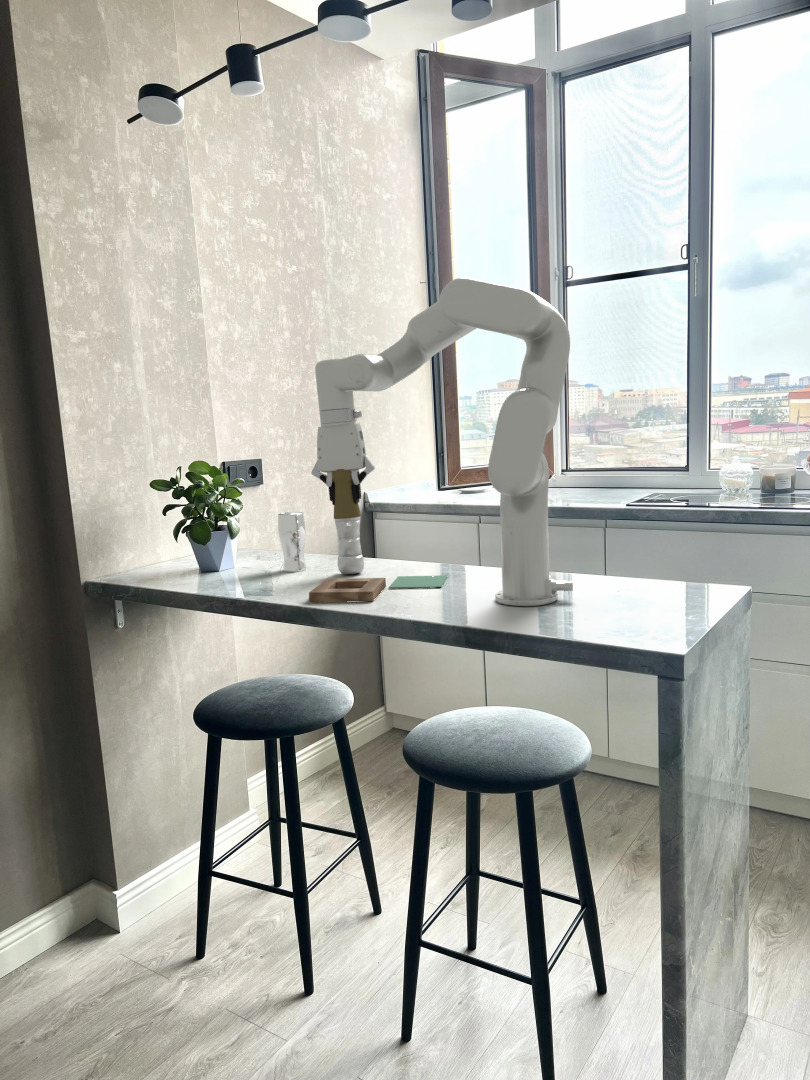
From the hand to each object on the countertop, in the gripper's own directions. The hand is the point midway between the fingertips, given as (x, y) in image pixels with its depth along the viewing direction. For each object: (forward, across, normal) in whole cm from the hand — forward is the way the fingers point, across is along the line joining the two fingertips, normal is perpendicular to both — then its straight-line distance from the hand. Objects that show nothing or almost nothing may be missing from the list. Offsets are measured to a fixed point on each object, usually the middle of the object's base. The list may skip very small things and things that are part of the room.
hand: (346, 502), depth 171 cm
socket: (+20, +2, 0) cm, 21 cm away
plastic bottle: (+20, +6, -23) cm, 32 cm away
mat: (+21, -12, -11) cm, 27 cm away
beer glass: (+20, +24, -30) cm, 43 cm away
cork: (+3, 0, 0) cm, 3 cm away
